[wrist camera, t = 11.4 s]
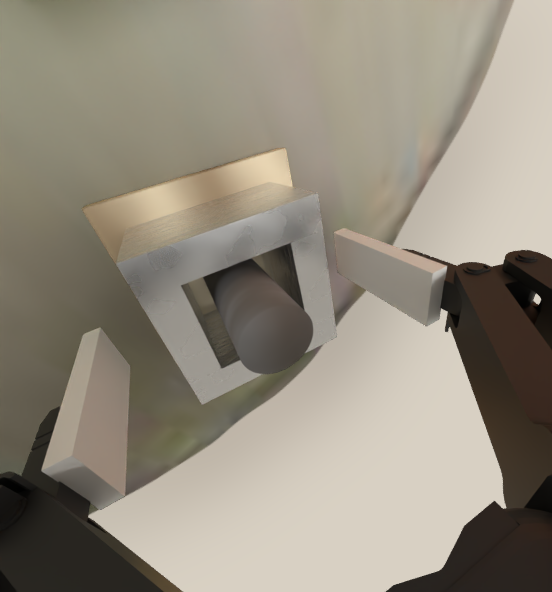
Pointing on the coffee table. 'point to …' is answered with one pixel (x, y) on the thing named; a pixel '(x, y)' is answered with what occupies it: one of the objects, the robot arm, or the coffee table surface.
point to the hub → (221, 254)
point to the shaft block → (229, 281)
